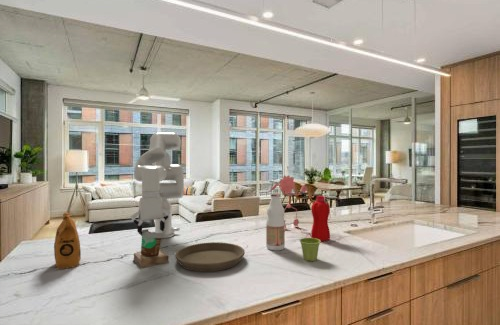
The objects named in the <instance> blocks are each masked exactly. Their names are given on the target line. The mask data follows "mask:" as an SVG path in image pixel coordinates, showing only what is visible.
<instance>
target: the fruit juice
mask: <svg viewBox="0 0 500 325" xmlns="http://www.w3.org/2000/svg"><path fill="white" fill-rule="evenodd" d="M270 197H271V198H270V201H269V204H268V206H267V208H266V216H267V218H266V223H265V224H266V226H265V228H266V230H265V232H266V233H265V234H266V236H265V237H266V238H265V239H266V249H268V250H270V251H282V250H284V249H285V246H286V245H285V234H286V233H285V231H286V228H285V225H286V220H285V211H284V210H285V208H284V207H283V203H282V201H281V199H280V198H281V193H277V192H274V193H270ZM284 220H285V221H284Z"/></svg>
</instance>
